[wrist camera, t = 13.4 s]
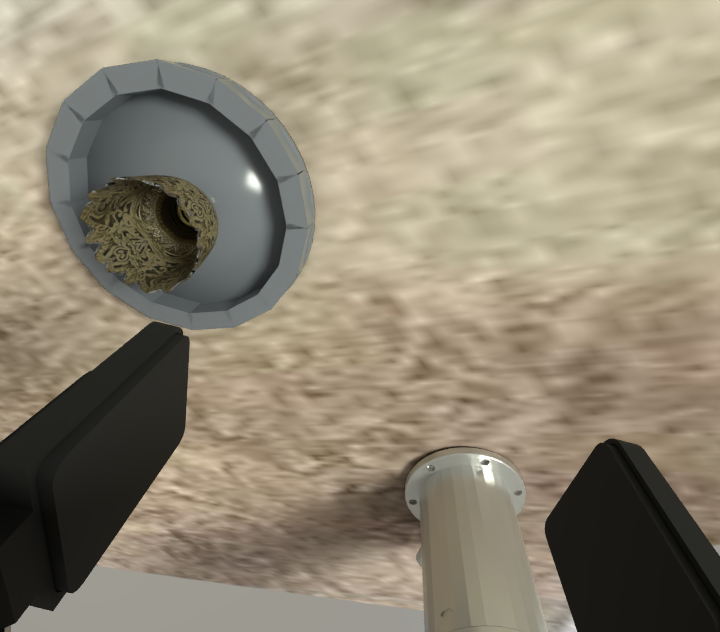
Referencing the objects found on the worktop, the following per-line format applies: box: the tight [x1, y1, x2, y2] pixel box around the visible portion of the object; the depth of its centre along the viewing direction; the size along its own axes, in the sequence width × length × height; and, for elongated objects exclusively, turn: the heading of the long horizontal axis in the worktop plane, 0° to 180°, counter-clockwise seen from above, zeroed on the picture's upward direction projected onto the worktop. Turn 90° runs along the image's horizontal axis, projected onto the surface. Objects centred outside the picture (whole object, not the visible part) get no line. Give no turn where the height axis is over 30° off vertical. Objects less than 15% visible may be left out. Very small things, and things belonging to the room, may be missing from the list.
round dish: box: [46, 59, 315, 330], centre depth 32 cm, size 20×20×3 cm
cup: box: [80, 175, 218, 293], centre depth 29 cm, size 8×7×8 cm
